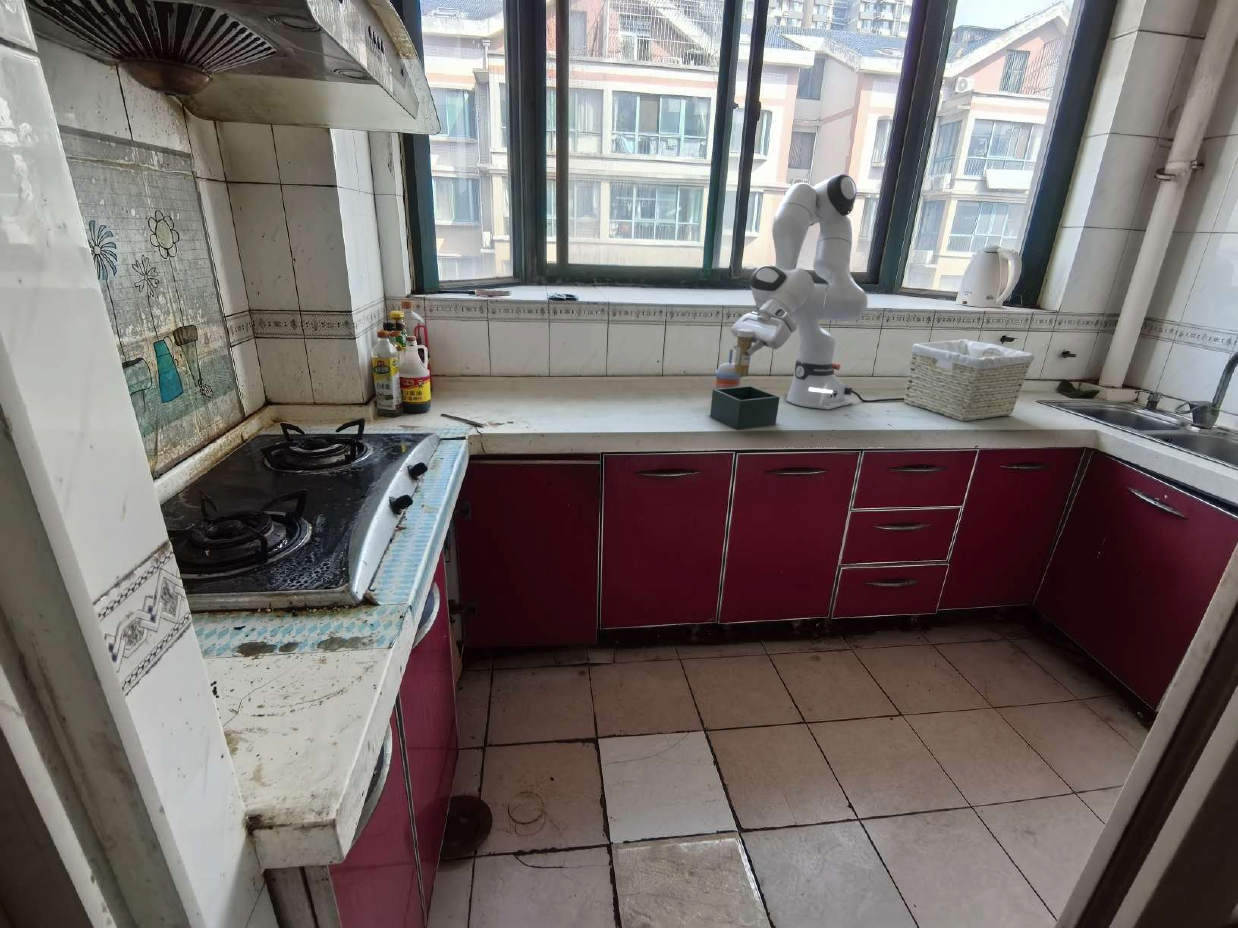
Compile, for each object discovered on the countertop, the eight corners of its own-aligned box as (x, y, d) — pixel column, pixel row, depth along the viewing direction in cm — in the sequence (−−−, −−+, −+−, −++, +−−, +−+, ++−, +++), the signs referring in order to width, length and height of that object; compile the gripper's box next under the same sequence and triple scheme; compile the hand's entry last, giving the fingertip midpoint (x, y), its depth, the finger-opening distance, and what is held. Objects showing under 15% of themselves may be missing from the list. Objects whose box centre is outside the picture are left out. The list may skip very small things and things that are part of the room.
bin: (747, 411, 190) (750, 385, 187) (775, 424, 179) (779, 396, 175) (709, 416, 184) (712, 389, 180) (736, 429, 172) (740, 401, 169)
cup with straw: (738, 408, 193) (745, 353, 186) (710, 405, 194) (716, 351, 187) (739, 401, 201) (745, 348, 194) (712, 398, 203) (717, 346, 196)
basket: (963, 425, 187) (982, 356, 179) (895, 401, 209) (910, 340, 201) (1019, 417, 197) (1039, 352, 189) (948, 396, 220) (964, 337, 212)
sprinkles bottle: (747, 377, 174) (753, 331, 169) (731, 376, 175) (737, 330, 170) (749, 374, 178) (754, 329, 173) (733, 372, 179) (739, 327, 174)
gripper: (745, 304, 180) (715, 337, 180) (791, 314, 164) (759, 351, 163) (754, 318, 184) (726, 351, 184) (801, 329, 167) (769, 366, 167)
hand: (741, 351), depth 173 cm, fingers closed on sprinkles bottle, 4 cm apart
